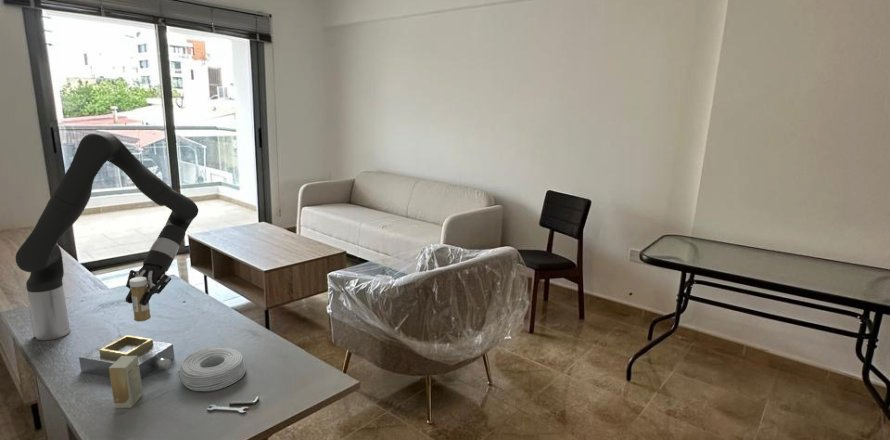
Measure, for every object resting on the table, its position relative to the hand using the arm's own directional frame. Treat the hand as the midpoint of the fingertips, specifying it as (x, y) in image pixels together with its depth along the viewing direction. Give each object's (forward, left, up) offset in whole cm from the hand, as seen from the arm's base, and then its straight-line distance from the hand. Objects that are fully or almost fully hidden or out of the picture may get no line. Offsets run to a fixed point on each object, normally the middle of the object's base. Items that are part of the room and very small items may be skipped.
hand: (135, 303), depth 146 cm
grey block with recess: (+2, -5, -19) cm, 19 cm away
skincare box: (+15, -20, -19) cm, 31 cm away
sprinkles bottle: (0, +2, -6) cm, 7 cm away
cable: (+28, -3, -19) cm, 34 cm away
